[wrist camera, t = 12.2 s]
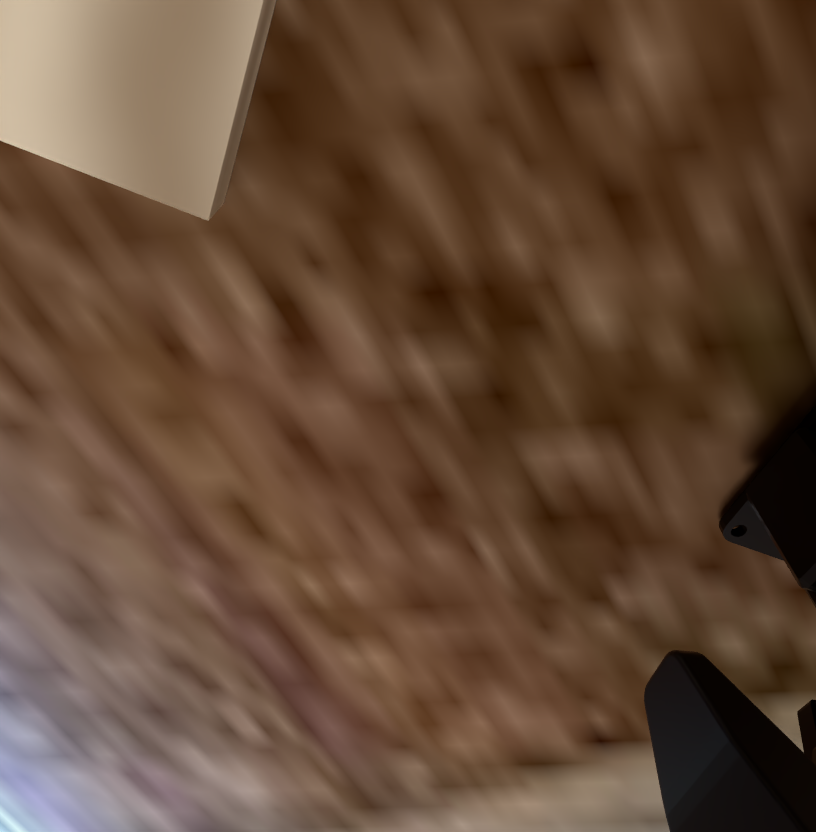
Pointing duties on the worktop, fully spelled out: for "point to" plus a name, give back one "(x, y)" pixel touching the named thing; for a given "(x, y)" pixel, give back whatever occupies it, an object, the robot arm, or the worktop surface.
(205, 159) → the plate
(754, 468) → the worktop surface
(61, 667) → the worktop surface
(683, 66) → the worktop surface
